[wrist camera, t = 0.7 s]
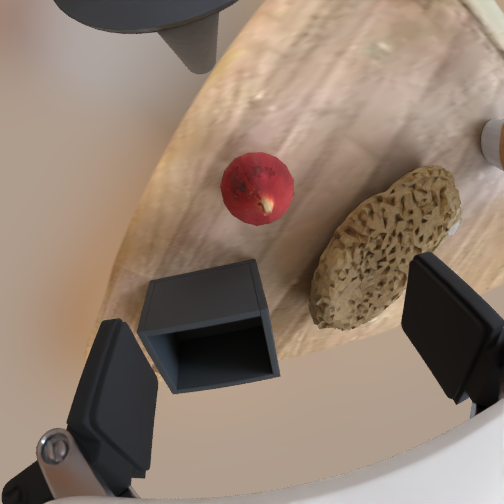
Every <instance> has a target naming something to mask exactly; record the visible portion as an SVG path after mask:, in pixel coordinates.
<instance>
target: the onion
mask: <svg viewBox="0 0 504 504" xmlns="http://www.w3.org/2000/svg"><path fill="white" fill-rule="evenodd" d="M220 188H221V192H222V197H223V201H224V204H225V205H226V207H227V208H228V210H229V211H230V213H231V214H232V215H233V216H235V217H236V218H238V219H239V220H241V221H243V222H244V223H248V224H252V225H256V226H258V225H264V224H269V223H271V222H273V221H275V220H277V219H278V218H280V217H281V216H282V215H283V214H284V213H285V212H286V211H287V209H288V208H289V206H290V203H291V201H292V198H293V195H294V180H293V178H292V176H291V174H290V172H289V170H288V168H287V166H286V165H285V164H284V163H282V162H281V161H280V160H279V159H278V158H276V157H274V156H271V155H269V154H266V153H263V152H258V153H247V154H244V155H242V156H240V157H238V158H235V159H234V160H233V161H232V163H231V164H230V165H229V166H228V167H227V169H226V170H225V171H224V174H223V178H222V182H221V186H220Z"/></svg>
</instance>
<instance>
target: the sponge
mask: <svg viewBox="0 0 504 504" xmlns="http://www.w3.org/2000/svg"><path fill="white" fill-rule="evenodd" d="M460 204H461V201H460V197H459V191H458V190H457V189H456V188H455V184H454V178H453V176H452V174H451V173H450V172H449V171H446V170H445V169H444V168H442V167H441V166H424V167H421V168H417V169H414V171H413V172H408V173H406V174H405V175H404V176H403V177H401V178H400V179H399V180H397V181H396V182H395V183H393V184H392V185H391V186H390V187H389V189H388V190H387V191H385V192H383V193H379V194H376V195H374V196H372V197H370V198H368V199H366V200H365V201H363V202H362V203H361V204H360V205H359V206H358V207H357V208H355V209H354V210H353V211H352V212H351V213H350V214H349V215H348V217H347V218H346V219H345V221H344V222H342V224H341V225H340V226H338V227H337V229H336V230H335V232H334V234H333V235H334V236H333V237H332V239H331V240H330V242H329V244H328V246H327V248H326V249H325V250H324V253H323V254H322V255H321V256H320V260H319V266H318V268H317V269H316V270H315V272H314V274H313V279H312V281H311V292H310V299H309V310H310V313H311V316H312V319H313V322H314V324H316V325H318V327H319V329H324V328H335V329H336V328H338V329H342V330H341V331H343V330H350V329H351V328H352V329H354V328H356V327H358V326H360V325H361V324H364V323H367V322H368V321H370V320H372V319H373V318H375V317H376V316H377V315H378V314H379V313H381V312H382V311H383V310H384V309H386V308H387V307H388V306H389V305H390V304H391V303H393V302H394V301H395V300H397V299H398V298H399V297H400V296H401V295H402V293H403V291H404V289H406V288H407V280H408V272H409V264H410V261H412V260H413V257H414V256H415V255H417V254H421V253H425V252H431V253H434V252H435V251H436V250H437V249H438V248H439V247H440V245H441V244H442V242H443V241H444V240H445V238H446V236H452V235H453V234H454V232H455V231H456V230H457V228H458V226H459V224H460V222H461V220H462V219H461V207H460Z"/></svg>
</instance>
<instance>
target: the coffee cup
mask: <svg viewBox="0 0 504 504" xmlns="http://www.w3.org/2000/svg"><path fill="white" fill-rule="evenodd" d="M481 149H482V152H483V155H484V157H485V158H486V159H487V161H488V162H489V163H490V164H492V165H493V166H495V167H497V168H499V169H501V170H503V171H504V119H499V118H495V119H492V120H489V121H488V122H487V123H486V124H485V126H484V128H483V131H482V135H481Z"/></svg>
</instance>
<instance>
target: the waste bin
mask: <svg viewBox="0 0 504 504" xmlns="http://www.w3.org/2000/svg"><path fill="white" fill-rule="evenodd" d="M137 334H138V336H139V337H140V339H141V341H142V343H143V345H144V346H145V348H146V350H147V352H148V354H149V355H150V357H151V359H152V361H153V362H154V364H155V366H156V367H157V369H158V371H159V372H160V374H161V376H162V377H163V379H164V381H165V382H166V384H167V385H168V387H169V388H170V390H171V392H172V393H173V394H179V393H187V392H194V391H202V390H209V389H216V388H222V387H228V386H234V385H240V384H245V383H251V382H255V381H261V380H265V379H271V378H273V377H274V378H275V377H279V376H280V370H279V366H278V360H277V354H276V349H275V343H274V338H273V332H272V327H271V321H270V316H269V311H268V306H267V302H266V298H265V294H264V291H263V287H262V283H261V279H260V275H259V271H258V267H257V264H256V260H255V259H253V260H248V261H243V262H238V263H234V264H229V265H224V266H219V267H214V268H210V269H205V270H200V271H195V272H190V273H186V274H181V275H176V276H171V277H166V278H161V279H156V280H152V281H150V284H149V287H148V291H147V294H146V298H145V302H144V306H143V309H142V313H141V317H140V321H139V325H138V329H137Z"/></svg>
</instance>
